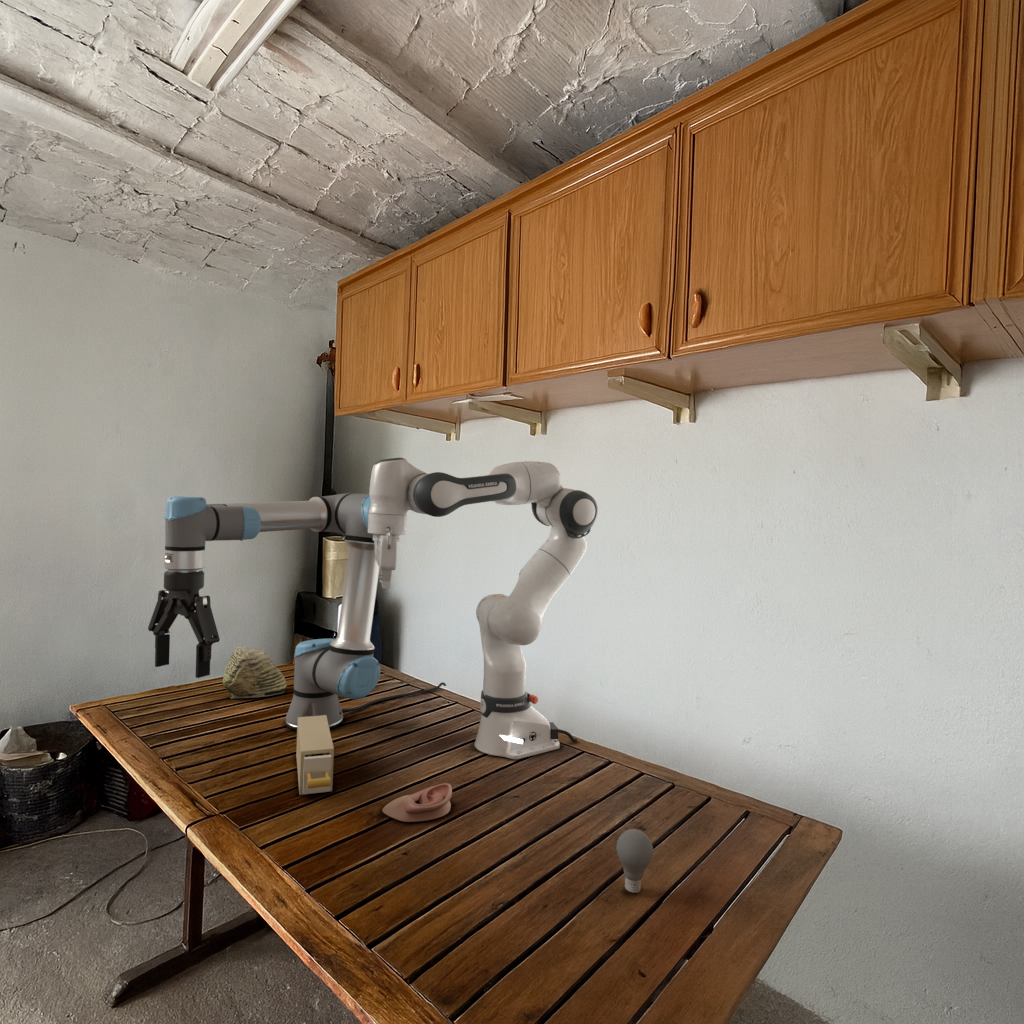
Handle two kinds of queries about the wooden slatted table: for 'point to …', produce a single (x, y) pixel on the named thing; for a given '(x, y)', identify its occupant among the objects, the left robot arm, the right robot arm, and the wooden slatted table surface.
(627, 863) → the light bulb
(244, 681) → the fossil
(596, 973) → the wooden slatted table surface
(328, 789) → the drawer
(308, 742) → the cabinet
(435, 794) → the anatomical model
